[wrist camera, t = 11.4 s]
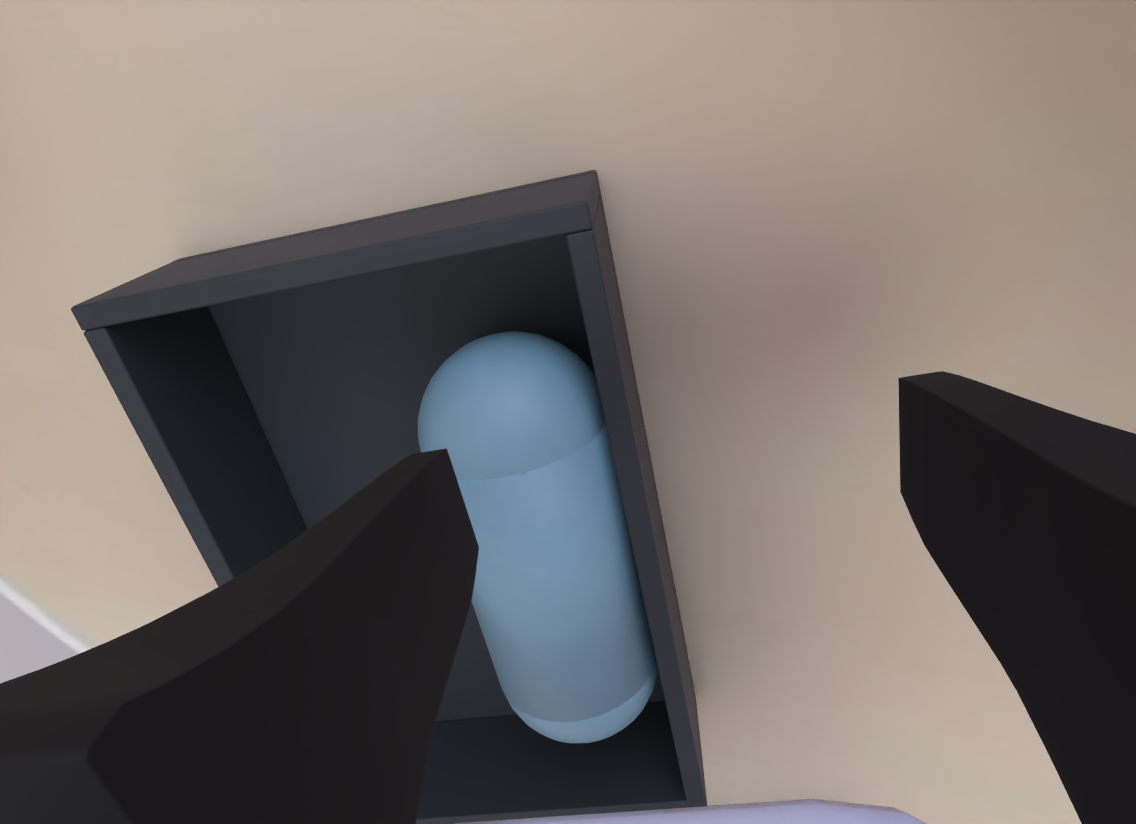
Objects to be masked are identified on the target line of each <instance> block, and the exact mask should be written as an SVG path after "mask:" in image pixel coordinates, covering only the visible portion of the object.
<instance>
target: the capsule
mask: <svg viewBox="0 0 1136 824" xmlns="http://www.w3.org/2000/svg"><path fill="white" fill-rule="evenodd" d="M418 440H419V445H420V450H421V452H427V451H433V450H440V449H446V448H447V450H448V454H449V457H450V460H451V463H452V466H453V469H454V472H455V475H456V478H457V481H458V484H459V487H460V490H461V493H462V496H463V500H464V503H465V506H466V509H467V512H468V515H469V518H470V521H471V524H472V527H473V530H474V533H475V536H476V539H477V542H478V546H479V552H478V560H477V568H476V576H475V582H474V589H473V595H472V600H471V601H472V604H473V607H474V610H475V613H476V616H477V619H478V621H479V624H480V627H481V630H482V633H483V636H484V639H485V642H486V645H487V648H488V650H489V653H490V656H491V659H492V662H493V665H494V668H495V671H496V674H497V677H498V679H499V682H500V685H501V688H502V690H503V692H504V694H505V696H506V698H507V700H508V702H509V704H510V705H511V707H512V709H513V710H514V711H515V712H516V713H517V715H518V716H519V717H520V718H521V719H522V720H523V721H524V722H525V723H526V724H527V725H528V726H529V727H531V728H532V729H534V730H535V731H537V732H538V733H540V734H542V735H544V736H546V737H548V738H551V739H553V740H556V741H559V742H566V743H590V742H595V741H600V740H602V739H605V738H608V737H610V736H612V735H614V734H616V733H617V732H619V731H621V730H622V729H624V728H625V727H626V726H628V725H629V724H630V723H631V722H633V721H634V720H635V719H636V717H637V716H638V715H639V714H640V713H641V712H642V710H643V708H644V707H645V705H646V703H647V701H648V700H649V698H650V696H651V694H652V692H653V690H654V686H655V683H656V679H657V674H658V665H657V661H656V656H655V651H654V647H653V642H652V637H651V633H650V628H649V623H648V619H647V614H646V609H645V605H644V600H643V595H642V591H641V586H640V581H639V577H638V572H637V567H636V563H635V558H634V553H633V549H632V544H631V539H630V535H629V530H628V525H627V521H626V516H625V511H624V507H623V502H622V497H621V493H620V488H619V483H618V479H617V474H616V469H615V465H614V460H613V455H612V451H611V446H610V441H609V437H608V432H607V427H606V423H605V418H604V413H603V408H602V404H601V399H600V394H599V390H598V385H597V380H596V376H595V374H594V373H593V371H592V370H591V369H590V368H589V367H588V366H587V365H586V363H585V362H584V361H583V360H582V359H581V358H580V357H579V356H578V355H577V354H576V353H574V352H573V351H571V350H570V349H569V348H567V347H566V346H564V345H563V344H561V343H559V342H557V341H555V340H552V339H550V338H547V337H545V336H542V335H538V334H533V333H526V332H518V331H511V332H502V333H496V334H492V335H488V336H484V337H481V338H479V339H476V340H474V341H471V342H469V343H467V344H466V345H464V346H463V347H461V348H460V349H458V350H457V351H456V352H455V353H453V354H452V355H451V356H450V357H448V358H447V359H446V360H445V361H444V362H443V364H442V365H441V366H440V368H439V369H438V370H437V371H436V373H435V374H434V375H433V377H432V378H431V380H430V382H429V384H428V386H427V388H426V390H425V393H424V395H423V398H422V401H421V406H420V410H419V415H418Z"/></svg>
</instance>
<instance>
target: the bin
mask: <svg viewBox="0 0 1136 824" xmlns="http://www.w3.org/2000/svg"><path fill="white" fill-rule="evenodd" d="M71 310H72V312H73V314H74V316H75V318H76V320H77V322H78V324H79V325H80V327H81V329H82V330H86V331H85V332H84V335H85V337H86V339H87V341H88V343H89V344H90V346H91V348H92V350H93V352H94V354H95V356H96V358H97V360H98V361H99V363H100V365H101V367H102V369H103V371H104V373H105V375H106V376H107V378H108V380H109V382H110V384H111V386H112V388H113V390H114V391H115V393H116V395H117V397H118V399H119V401H120V403H121V405H122V406H123V408H124V410H125V412H126V414H127V416H128V418H129V420H130V422H131V423H132V425H133V427H134V429H135V431H136V433H137V435H138V437H139V438H140V440H141V442H142V444H143V446H144V448H145V450H146V452H147V453H148V455H149V457H150V459H151V461H152V463H153V465H154V467H155V468H156V470H157V472H158V474H159V476H160V478H161V480H162V482H163V483H164V485H165V487H166V489H167V491H168V493H169V495H170V497H171V499H172V500H173V502H174V504H175V506H176V508H177V510H178V512H179V514H180V515H181V517H182V519H183V521H184V523H185V525H186V527H187V529H188V530H189V532H190V534H191V536H192V538H193V540H194V542H195V544H196V545H197V547H198V549H199V551H200V553H201V555H202V557H203V559H204V560H205V562H206V564H207V566H208V568H209V570H210V572H211V574H212V576H213V577H214V579H215V581H216V583H217V585H218V587H220V586H222V585H223V584H225V583H227V582H228V581H230V580H232V579H233V578H235V577H237V576H239V575H240V574H242V573H244V572H245V571H247V570H249V569H250V568H252V567H254V566H255V565H257V564H258V563H260V562H261V561H263V560H265V559H266V558H268V557H269V556H271V555H272V554H274V553H275V552H277V551H278V550H280V549H281V548H283V547H284V546H286V545H287V544H288V543H290V542H291V541H293V540H294V539H295V538H297V537H298V536H300V535H301V534H302V533H304V532H305V531H307V530H308V529H309V528H311V527H312V526H314V525H315V524H316V523H318V522H319V521H321V520H322V519H323V518H325V517H326V516H328V515H329V514H330V513H332V512H333V511H334V510H336V509H337V508H338V507H339V506H341V505H342V504H343V503H345V502H346V501H347V500H349V499H350V498H351V497H352V496H354V495H355V494H356V493H358V492H359V491H360V490H362V489H363V488H364V487H365V486H367V485H368V484H369V483H371V482H372V481H373V480H375V479H376V478H377V477H379V476H380V475H381V474H383V473H384V472H385V471H387V470H388V469H389V468H391V467H392V466H394V465H395V464H396V463H398V462H399V461H401V460H403V459H404V458H406V457H408V456H410V455H411V454H414V453H421V450H420V445H419V440H418V415H419V410H420V406H421V401H422V398H423V395H424V393H425V390H426V388H427V386H428V384H429V382H430V380H431V378H432V377H433V375H434V374H435V373H436V371H437V370H438V369H439V368H440V366H441V365H442V364H443V362H444V361H445V360H446V359H447V358H448V357H450V356H451V355H452V354H453V353H455V352H456V351H457V350H458V349H460V348H461V347H463V346H464V345H466V344H467V343H469V342H471V341H474V340H476V339H479V338H481V337H484V336H488V335H492V334H496V333H502V332H511V331H518V332H526V333H533V334H538V335H542V336H545V337H547V338H550V339H552V340H555V341H557V342H559V343H561V344H563V345H564V346H566V347H567V348H569V349H570V350H571V351H573V352H574V353H576V354H577V355H578V356H579V357H580V358H581V359H582V360H583V361H584V362H585V363H586V365H587V366H588V367H589V368H590V369H591V370H592V371H593V373H594V374H595V376H596V380H597V385H598V390H599V394H600V399H601V404H602V408H603V413H604V418H605V423H606V427H607V432H608V437H609V441H610V446H611V451H612V455H613V460H614V465H615V469H616V474H617V479H618V483H619V488H620V493H621V497H622V502H623V507H624V511H625V516H626V521H627V525H628V530H629V535H630V539H631V544H632V549H633V553H634V558H635V563H636V567H637V572H638V577H639V581H640V586H641V591H642V595H643V600H644V605H645V609H646V614H647V619H648V623H649V628H650V633H651V637H652V642H653V647H654V651H655V656H656V661H657V665H658V674H657V679H656V683H655V686H654V690H653V692H652V694H651V696H650V698H649V700H648V701H647V703H646V705H645V707H644V708H643V710H642V712H641V713H640V714H639V715H638V716H637V717H636V719H635V720H634V721H633V722H631V723H630V724H629V725H628V726H626V727H625V728H624V729H622V730H621V731H619V732H617V733H616V734H614V735H612V736H610V737H608V738H605V739H602V740H600V741H595V742H590V743H566V742H559V741H556V740H553V739H551V738H548V737H546V736H544V735H542V734H540V733H538V732H537V731H535V730H534V729H532V728H531V727H529V726H528V725H527V724H526V723H525V722H524V721H523V720H522V719H521V718H520V717H519V716H518V715H517V713H516V712H515V711H514V710H513V709H512V707H511V705H510V704H509V702H508V700H507V698H506V696H505V694H504V692H503V690H502V688H501V685H500V682H499V679H498V677H497V674H496V671H495V668H494V665H493V662H492V659H491V656H490V653H489V650H488V648H487V645H486V642H485V639H484V636H483V633H482V630H481V627H480V624H479V621H478V619H477V616H476V613H475V610H474V607H473V604H472V601H471V604H470V607H469V611H468V614H467V618H466V621H465V625H464V628H463V631H462V635H461V638H460V642H459V645H458V648H457V651H456V655H455V658H454V661H453V665H452V668H451V671H450V675H449V678H448V681H447V684H446V688H445V691H444V694H443V698H442V701H441V704H440V708H439V711H438V714H437V718H436V722H435V726H434V730H433V734H432V738H431V742H430V747H429V752H428V757H427V763H426V768H425V773H424V779H423V784H422V790H421V795H420V800H419V806H418V812H417V819H416V824H456V823H465V822H480V821H495V820H510V819H525V818H539V817H554V816H569V815H584V814H599V813H614V812H629V811H644V810H658V809H673V808H688V807H703V806H707V799H706V790H705V780H704V771H703V761H702V752H701V742H700V733H699V723H698V714H697V704H696V697H695V691H694V686H693V681H692V675H691V670H690V665H689V659H688V654H687V649H686V644H685V638H684V633H683V628H682V622H681V617H680V612H679V606H678V601H677V596H676V590H675V585H674V580H673V574H672V569H671V564H670V559H669V553H668V548H667V543H666V537H665V532H664V527H663V521H662V516H661V511H660V505H659V500H658V495H657V489H656V484H655V479H654V474H653V468H652V463H651V458H650V452H649V447H648V442H647V436H646V431H645V426H644V420H643V415H642V410H641V404H640V399H639V394H638V389H637V383H636V378H635V373H634V367H633V362H632V357H631V351H630V346H629V341H628V335H627V330H626V325H625V319H624V314H623V309H622V304H621V298H620V293H619V288H618V282H617V277H616V272H615V266H614V261H613V256H612V250H611V245H610V240H609V234H608V229H607V224H606V219H605V213H604V208H603V203H602V197H601V192H600V187H599V181H598V176H597V172H596V171H595V170H593V171H588V172H584V173H579V174H574V175H569V176H565V177H560V178H555V179H551V180H546V181H541V182H537V183H532V184H527V185H523V186H518V187H513V188H509V189H504V190H499V191H495V192H490V193H485V194H481V195H476V196H471V197H467V198H462V199H457V200H453V201H448V202H443V203H439V204H434V205H429V206H425V207H420V208H415V209H410V210H406V211H401V212H396V213H392V214H387V215H382V216H378V217H373V218H368V219H364V220H359V221H354V222H350V223H345V224H340V225H336V226H331V227H326V228H322V229H317V230H312V231H308V232H303V233H298V234H294V235H289V236H284V237H280V238H275V239H270V240H265V241H261V242H256V243H251V244H247V245H242V246H237V247H233V248H228V249H223V250H219V251H214V252H209V253H205V254H200V255H195V256H191V257H186V258H181V259H178V260H176V261H174V262H171V263H169V264H167V265H165V266H163V267H160V268H158V269H156V270H154V271H151V272H149V273H147V274H145V275H142V276H140V277H138V278H136V279H133V280H131V281H129V282H127V283H125V284H122V285H120V286H118V287H116V288H113V289H111V290H109V291H107V292H104V293H102V294H100V295H98V296H95V297H93V298H91V299H89V300H87V301H84V302H82V303H80V304H78V305H75V306H73V307H72V308H71Z"/></svg>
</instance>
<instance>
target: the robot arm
mask: <svg viewBox="0 0 1136 824" xmlns="http://www.w3.org/2000/svg"><path fill="white" fill-rule="evenodd" d="M899 426H900V485H901V494H902V496H903V499H904V501H905V503H906V506H907V508H908V510H909V513H910V515H911V517H912V519H913V522H914V524H915V526H916V528H917V530H918V532H919V535H920V537H921V539H922V541H923V543H924V545H925V547H926V548H927V550H928V551H929V553H930V555H931V556H932V558H933V559H934V561H935V563H936V564H937V566H938V567H939V569H940V570H941V572H942V574H943V575H944V577H945V578H946V580H947V581H948V583H949V585H950V586H951V588H952V589H953V591H954V592H955V594H956V595H957V597H958V598H959V600H960V601H961V603H962V605H963V606H964V608H965V609H966V611H967V612H968V614H969V615H970V617H971V618H972V620H973V621H974V623H975V624H976V626H977V628H978V629H979V631H980V632H981V634H982V635H983V637H984V638H985V640H986V641H987V643H988V644H989V646H990V648H991V649H992V651H993V652H994V654H995V655H996V657H997V658H998V660H999V661H1000V663H1001V665H1002V666H1003V668H1004V670H1005V672H1006V673H1007V675H1008V677H1009V678H1010V680H1011V682H1012V683H1013V685H1014V687H1015V689H1016V690H1017V692H1018V694H1019V696H1020V698H1021V700H1022V702H1023V704H1024V706H1025V708H1026V710H1027V712H1028V714H1029V716H1030V718H1031V720H1032V722H1033V724H1034V726H1035V728H1036V730H1037V732H1038V734H1039V736H1040V738H1041V740H1042V742H1043V744H1044V746H1045V748H1046V750H1047V752H1048V754H1049V756H1050V758H1051V760H1052V762H1053V764H1054V766H1055V768H1056V770H1057V772H1058V774H1059V777H1060V779H1061V781H1062V783H1063V785H1064V787H1065V789H1066V791H1067V793H1068V796H1069V798H1070V800H1071V802H1072V804H1073V806H1074V808H1075V810H1076V812H1077V814H1078V817H1079V819H1080V821H1081V823H1082V824H1136V434H1134V433H1130V432H1127V431H1124V430H1120V429H1117V428H1114V427H1110V426H1107V425H1103V424H1100V423H1097V422H1093V421H1090V420H1087V419H1084V418H1081V417H1078V416H1075V415H1072V414H1069V413H1066V412H1063V411H1060V410H1057V409H1054V408H1051V407H1048V406H1045V405H1042V404H1039V403H1036V402H1034V401H1031V400H1028V399H1025V398H1022V397H1020V396H1017V395H1014V394H1011V393H1008V392H1006V391H1003V390H1000V389H997V388H994V387H992V386H989V385H986V384H983V383H980V382H977V381H974V380H971V379H968V378H965V377H962V376H959V375H955V374H952V373H947V372H942V371H941V372H934V373H928V374H922V375H915V376H909V377H902V378H899ZM478 552H479V546H478V542H477V539H476V536H475V533H474V530H473V527H472V524H471V521H470V518H469V515H468V512H467V509H466V506H465V503H464V500H463V496H462V493H461V490H460V487H459V484H458V481H457V478H456V475H455V472H454V469H453V466H452V463H451V460H450V457H449V454H448V450H447V448H446V449H440V450H433V451H427V452H421V453H414V454H411V455H410V456H408V457H406V458H404V459H403V460H401V461H399V462H398V463H396V464H395V465H394V466H392V467H391V468H389V469H388V470H387V471H385V472H384V473H383V474H381V475H380V476H379V477H377V478H376V479H375V480H373V481H372V482H371V483H369V484H368V485H367V486H365V487H364V488H363V489H362V490H360V491H359V492H358V493H356V494H355V495H354V496H352V497H351V498H350V499H349V500H347V501H346V502H345V503H343V504H342V505H341V506H339V507H338V508H337V509H336V510H334V511H333V512H332V513H330V514H329V515H328V516H326V517H325V518H323V519H322V520H321V521H319V522H318V523H316V524H315V525H314V526H312V527H311V528H309V529H308V530H307V531H305V532H304V533H302V534H301V535H300V536H298V537H297V538H295V539H294V540H293V541H291V542H290V543H288V544H287V545H286V546H284V547H283V548H281V549H280V550H278V551H277V552H275V553H274V554H272V555H271V556H269V557H268V558H266V559H265V560H263V561H261V562H260V563H258V564H257V565H255V566H254V567H252V568H250V569H249V570H247V571H245V572H244V573H242V574H240V575H239V576H237V577H235V578H233V579H232V580H230V581H228V582H227V583H225V584H223V585H222V586H220V587H218V588H216V589H214V590H213V591H211V592H209V593H207V594H205V595H203V596H201V597H199V598H197V599H195V600H193V601H192V602H190V603H188V604H186V605H184V606H182V607H180V608H178V609H176V610H174V611H172V612H170V613H168V614H166V615H164V616H162V617H160V618H158V619H156V620H154V621H152V622H151V623H148V624H146V625H144V626H142V627H140V628H138V629H136V630H133V631H131V632H129V633H127V634H124V635H122V636H120V637H118V638H116V639H113V640H111V641H109V642H107V643H104V644H102V645H99V646H97V647H95V648H92V649H90V650H87V651H85V652H83V653H80V654H78V655H76V656H73V657H71V658H68V659H66V660H63V661H61V662H58V663H56V664H53V665H50V666H48V667H45V668H43V669H40V670H38V671H34V672H32V673H29V674H26V675H23V676H20V677H18V678H15V679H12V680H9V681H6V682H4V683H1V684H0V824H416V819H417V812H418V806H419V800H420V795H421V790H422V784H423V779H424V773H425V768H426V763H427V757H428V752H429V747H430V742H431V738H432V734H433V730H434V726H435V722H436V718H437V714H438V711H439V708H440V704H441V701H442V698H443V694H444V691H445V688H446V684H447V681H448V678H449V675H450V671H451V668H452V665H453V661H454V658H455V655H456V651H457V648H458V645H459V642H460V638H461V635H462V631H463V628H464V625H465V621H466V618H467V614H468V611H469V607H470V604H471V600H472V595H473V589H474V582H475V576H476V568H477V560H478ZM456 824H926V823H924V822H922V821H921V820H919V819H917V818H915V817H913V816H911V815H910V814H908V813H905V812H903V811H900V810H898V809H896V808H893V807H884V806H874V805H864V804H855V803H845V802H835V801H825V800H815V799H807V800H792V801H777V802H763V803H748V804H733V805H718V806H703V807H688V808H673V809H658V810H644V811H629V812H614V813H599V814H584V815H569V816H554V817H539V818H525V819H510V820H495V821H480V822H465V823H456Z"/></svg>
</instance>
